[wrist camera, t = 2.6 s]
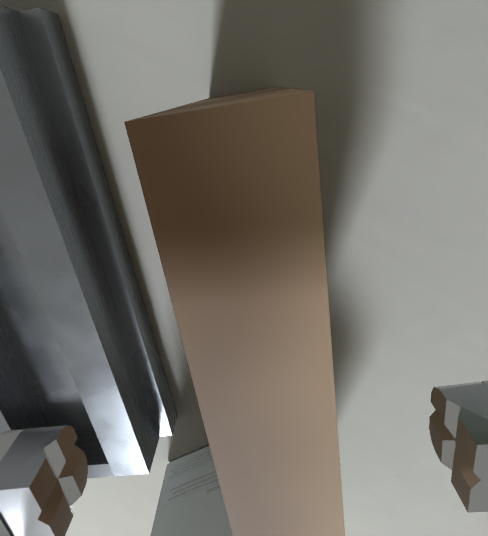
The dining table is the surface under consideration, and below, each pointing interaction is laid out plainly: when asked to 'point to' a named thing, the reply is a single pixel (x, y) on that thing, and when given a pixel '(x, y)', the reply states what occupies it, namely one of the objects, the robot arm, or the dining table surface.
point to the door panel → (251, 298)
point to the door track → (68, 268)
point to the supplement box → (191, 499)
